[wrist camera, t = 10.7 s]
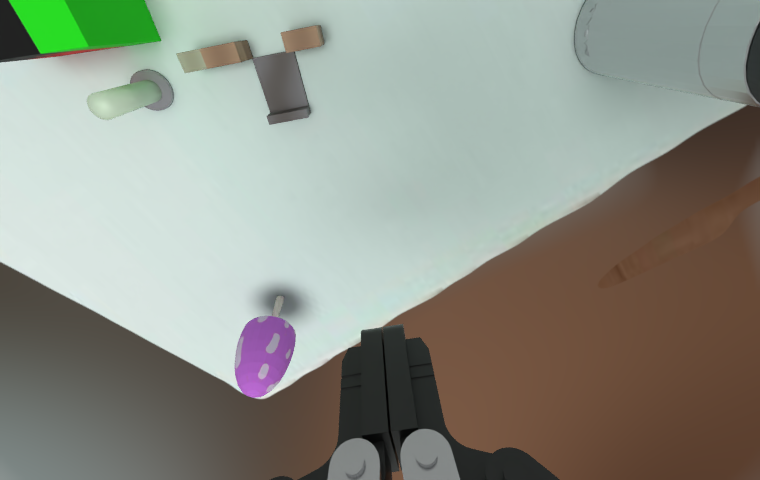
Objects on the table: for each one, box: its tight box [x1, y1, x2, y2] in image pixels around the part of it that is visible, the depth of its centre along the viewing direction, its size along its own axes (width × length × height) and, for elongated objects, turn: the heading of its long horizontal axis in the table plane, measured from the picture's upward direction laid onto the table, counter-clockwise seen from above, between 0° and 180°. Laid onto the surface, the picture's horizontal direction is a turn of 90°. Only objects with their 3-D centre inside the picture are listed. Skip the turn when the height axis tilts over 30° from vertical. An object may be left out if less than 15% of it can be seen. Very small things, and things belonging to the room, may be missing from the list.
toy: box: [235, 296, 296, 397], centre depth 42 cm, size 7×7×15 cm
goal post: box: [87, 70, 174, 120], centre depth 29 cm, size 4×4×8 cm
